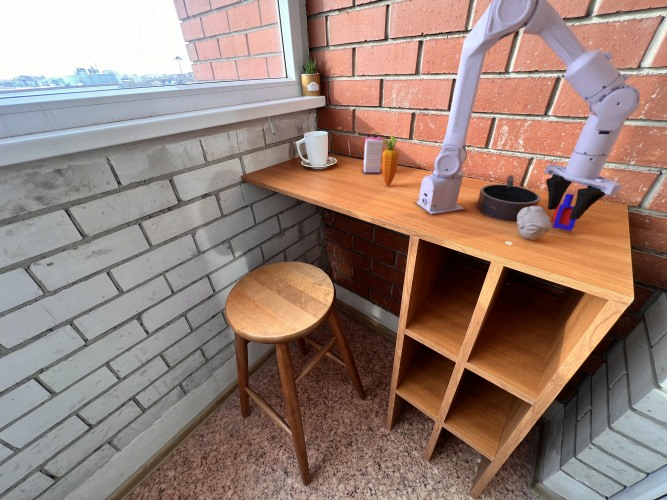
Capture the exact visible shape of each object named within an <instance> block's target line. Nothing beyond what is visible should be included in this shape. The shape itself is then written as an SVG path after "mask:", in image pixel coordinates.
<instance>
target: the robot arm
mask: <svg viewBox="0 0 667 500" xmlns="http://www.w3.org/2000/svg"><path fill="white" fill-rule="evenodd" d="M523 28H524V30H523V32H522V34H525V35H531V36H537V37H539V38H540V39H541V40H542V41H543V43H545V44H546V45H547V46H548V48H550V49H551V51H552V52H554V53H555V55H556V56H557V57H558V58H559V59H560V60H561V61H562V62H563V63H564V65H565V66H566V70H565V73H564V76H563V77H564V80H565V81H566V82H567V83H568V84H569V86H570V87H571V88H572V89H573V90H574V91H575V92H576V93H577V95H578V96H579V97H580V99H582V101H583V102H584V103H588V111H589V112H590V113H589V115H588V117H587V120H586V122H585V125H584V126H583V127H582V130H581V132H580V135H579V137H578V139H577V141H576V144H575V146H574V149H573V151H572V154H571V155H570V158H569V160H568V163H567V165H566V167H565V166H562V165H559V164H547V165H546V166H545V169H544V172H543V174H545V175H550V177H549V178H546V180H545V183H546V186H547V187H546V188H547V192H548V195H547V196H548V200H547V210H549V211H552V210H556V207H557V206H559V205H560V204H561V201H562V199H563V198H564V196H565V194H566V192H567V191H568V189H569V187H570V186H571V185H572V183H575V184H578V185H581V186H584V187H583V188H578V189H577V191H576V192H577V194H576V199H575V202H574V203H575V204H574V208H573V210H572V212H571V215H570V219H572V220H574V219H575V218H576V217H577V219H576V220H580V219H581V218H582V216H583V215H584V214H585V213H586V211H587V210H588V209H589V208H591V206H592V205H594V204H595V203H596V202H598V201H599V200H600V199H602V198H604V196H606V195H607V196H613V195H614V196H615V195H618V193H619V191H620V189H621V188H622V186H623V184H621V183H618V182H615V181H613V180H610V179H609V178H606V177H603V176H601V175H600V174H601V172H602V170H603V168H604V166H605V164H606V162H607V160H608V158H609V156H610V154H611V152H612V150H613V148H614V145H615V144H616V141H617V140H618V138H619V136H620V134H621V132H622V128H623V127H624V124H625V123H626V120H627V118H629V117H631V116H632V115H633V114H634V113H635V112H636V111H637V110H638V109H639V108H640V106H641V103H640V101H641V98H640V97H641V93H640V91H639V89H638V88H637V87H636V86H634V85H630V84H627V83H626V81H628V80H629V79H630V76H629V75H628V73H623V74H622V73H621V72H620V70H619V69H618V68H617V67H616V66H615V65H614V64H613V62H612V61H611V59H612V58H613V57H614V55H613V54H612V53H611V52H610V51H609V50H607V51H605V52H603V51H602V49H600V48H599V49H598V48H597V49H590V50H587V49H586V47H585V46H584V44H583V43H582V42H581V41H580V40H579V39H578V37H577V36H576V35H575V33H574V32H573V30H572V29H571V27H570V26H569V25H568V24H567V22H565V20H564V19H563V17H562V16H561V15H560V13H559V12H558V11H557V9H556V8H555V7H554V6H553V5H552V4H551V3H550V2H549V1H548V0H492V1H490V3H489V5H488V7H487V8H486V10H485V11H484V12H483V14H482V16H481V17H480V18H479V20H478V21H477V22H476V24H475V25H474V26H473V28H472V29H471V30H470V32H469V33H468V35H466V37H465V39H464V41H463V44H462V49H461V54H460V59H459V65H458V70H457V75H456V80H455V85H454V89H453V95H452V100H451V105H450V111H449V116H448V120H447V127H446V130H445V131H446V132H445V135H444V138H443V141H442V144H441V147H440V151H439V154H438V155H437V156H436V157H435V159H434V163H433V166H434V170H433V171H432V173H431V174H430V175H426V176H424V177H423V178H422V180H421V181H420V182H421V183H420V189H419V195H418V200H417V201H416V204H417V205H418V206H420V207H421V208H423V209H424V210H425V211H427V212H428V213H429V214H431V215H438V214H444V213H450V212H451V213H452V212H458V211H463V210H464V207H463V206H461V205H460V204H458V201H459V200H458V199H459V195H460V192H461V187H462V183H463V178H464V175H465V174H464V171H463V170H462V169H463V164H464V163H465V162H466V159H467V157H468V151H467V148H466V144H467V139H468V132H469V128H470V123H471V119H472V114H473V111H474V106H475V101H476V98H477V93H478V89H479V85H480V80H481V76H482V71H483V67H484V63H485V59H486V55H487V53H488V52H489V51H490V50H491V49H492V48H493V47H495V46H496V45H497V44H498V43H499V42H501V40H503V39H505V38H507V37H509V36H511V35H513V34H515V33H517V32H519V31H521V30H522V29H523Z"/></svg>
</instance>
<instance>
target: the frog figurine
mask: <svg viewBox="0 0 667 500" xmlns="http://www.w3.org/2000/svg"><path fill="white" fill-rule="evenodd" d="M517 220H518V221H516V225H517V230H518V233H519V235H520V236H521V237H522V238H524V239H525V240H529V241H535V240H539V239H541V238H542V237H543V236H544V235H545V234H547V233H549V232H550V230H551V229H552V221H551V218H550V216H549V214H547V212H546V211H545V210H544V208H543V206H541V205H540V206H539V205H538V206H530V207H525V208H523V209H521V210H520V212H519V213H518V215H517Z"/></svg>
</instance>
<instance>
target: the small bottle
mask: <svg viewBox="0 0 667 500" xmlns="http://www.w3.org/2000/svg"><path fill="white" fill-rule="evenodd" d="M574 198H575V194H573V193H565V194H564V197H563V201H562V204H561V203H560V204H559V206H557V207H556V209H554V212H553V216H552V219H551V222H552V224H551V229H552V228H553V229H558V230H563V231H569V232H573V229H574V226H575V224H576V221H577V220H578V219H577V217H576V218H575V219H574V220H572V219H570V215H571V212H572V210H573V208H574V206H575V205H574V206H573V205H572V204H573V200H574Z"/></svg>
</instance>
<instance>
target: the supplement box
mask: <svg viewBox="0 0 667 500" xmlns="http://www.w3.org/2000/svg"><path fill="white" fill-rule="evenodd" d="M383 141H384V140H383V138H382V137H379V136H378V137H368V136H367V137H365V138H364V153H363V154H364V155H363V173H364V175H378V174H381V171H382V153H383V145H384V142H383Z"/></svg>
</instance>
